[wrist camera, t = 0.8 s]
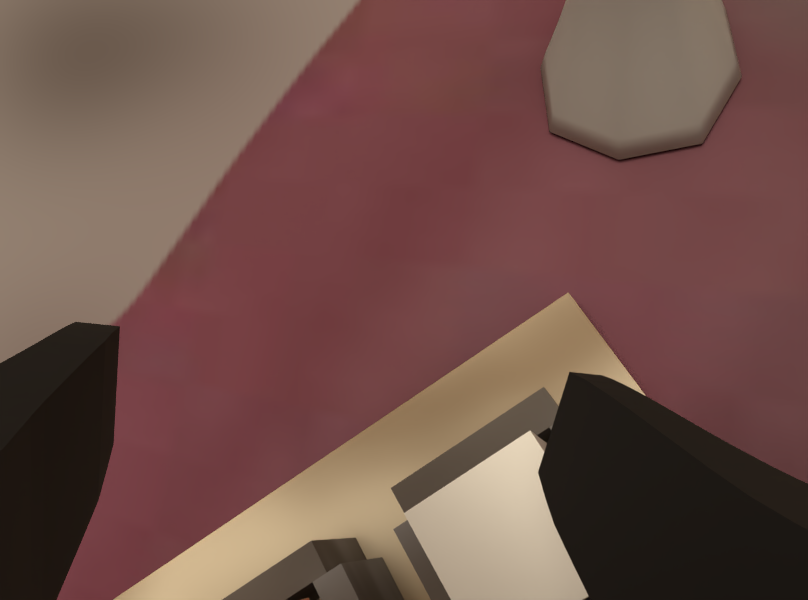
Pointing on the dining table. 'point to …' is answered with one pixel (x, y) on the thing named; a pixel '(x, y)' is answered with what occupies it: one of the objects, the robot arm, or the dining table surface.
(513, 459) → the offwhite button
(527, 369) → the button panel
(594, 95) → the flask
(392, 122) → the dining table surface
